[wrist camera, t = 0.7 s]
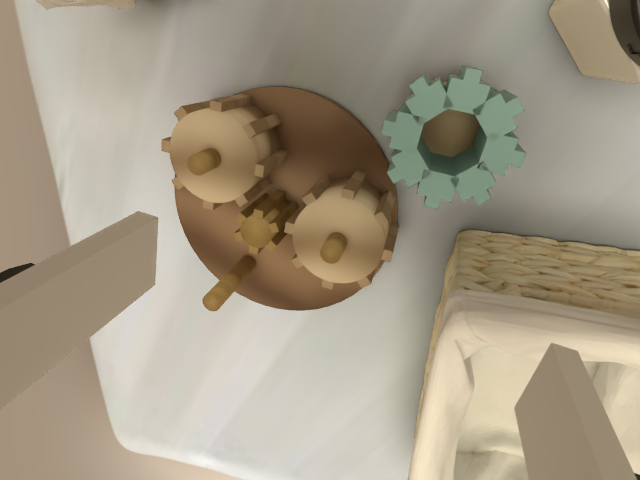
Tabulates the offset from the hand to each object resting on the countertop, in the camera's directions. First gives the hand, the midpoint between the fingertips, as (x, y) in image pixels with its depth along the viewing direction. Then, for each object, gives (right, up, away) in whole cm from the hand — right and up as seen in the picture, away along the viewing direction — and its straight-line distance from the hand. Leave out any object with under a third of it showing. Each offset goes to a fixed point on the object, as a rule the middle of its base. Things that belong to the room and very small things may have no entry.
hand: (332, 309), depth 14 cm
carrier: (-4, +5, +22) cm, 23 cm away
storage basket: (+16, -7, +22) cm, 28 cm away
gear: (+8, +9, +14) cm, 18 cm away
